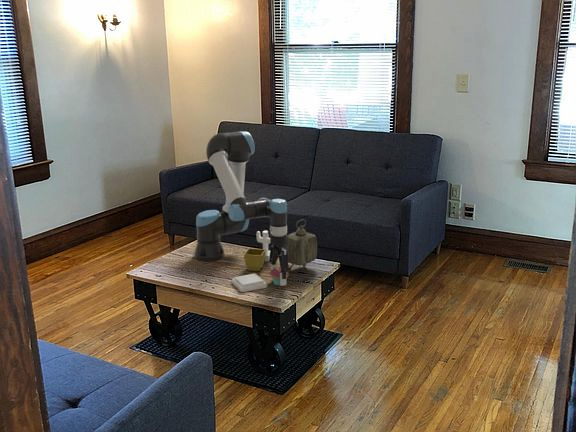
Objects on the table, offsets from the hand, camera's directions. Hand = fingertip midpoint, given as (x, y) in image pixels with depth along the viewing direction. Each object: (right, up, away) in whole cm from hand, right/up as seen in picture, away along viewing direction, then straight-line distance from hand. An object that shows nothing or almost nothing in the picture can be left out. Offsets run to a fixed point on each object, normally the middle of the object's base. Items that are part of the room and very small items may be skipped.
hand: (279, 281), depth 274 cm
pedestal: (-13, -1, -2) cm, 14 cm away
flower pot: (-12, +4, +17) cm, 21 cm away
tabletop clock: (+11, +4, +17) cm, 20 cm away
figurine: (-7, +8, +30) cm, 32 cm away
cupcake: (0, -1, 0) cm, 1 cm away
